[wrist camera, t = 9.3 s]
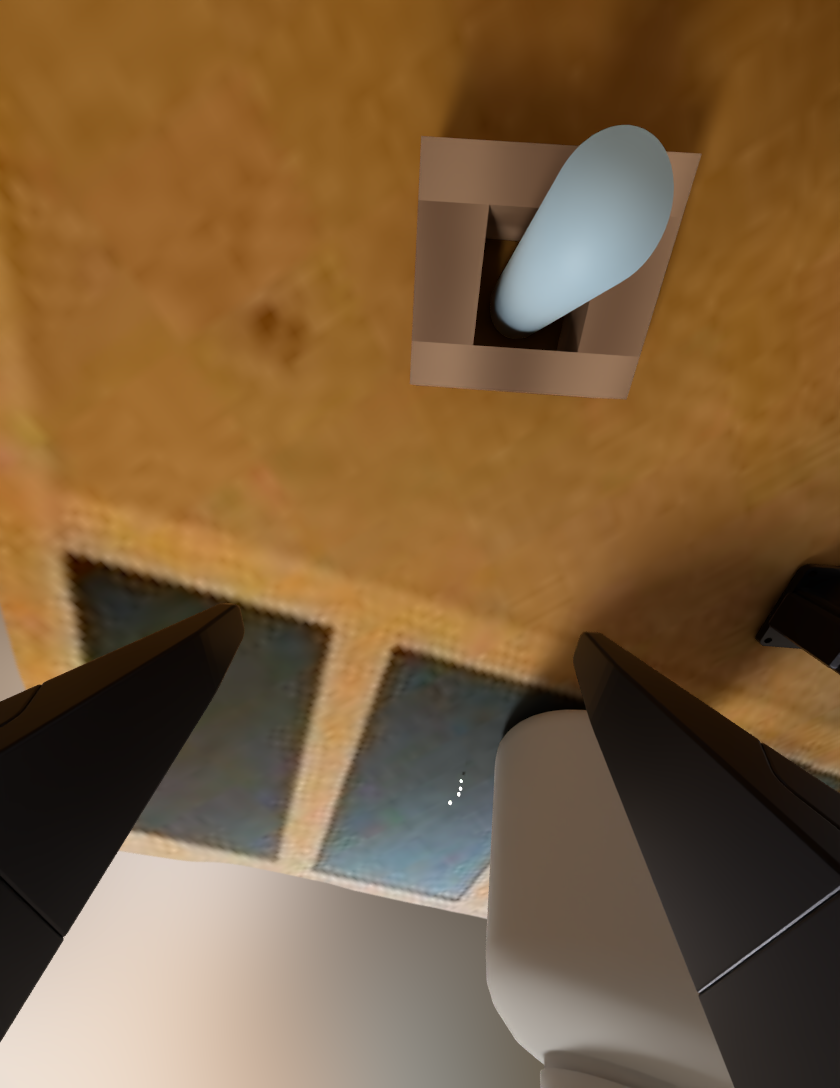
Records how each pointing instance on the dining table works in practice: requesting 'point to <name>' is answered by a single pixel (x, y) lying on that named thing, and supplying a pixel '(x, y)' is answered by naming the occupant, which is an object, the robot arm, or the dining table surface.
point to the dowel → (587, 230)
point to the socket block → (505, 214)
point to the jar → (584, 924)
